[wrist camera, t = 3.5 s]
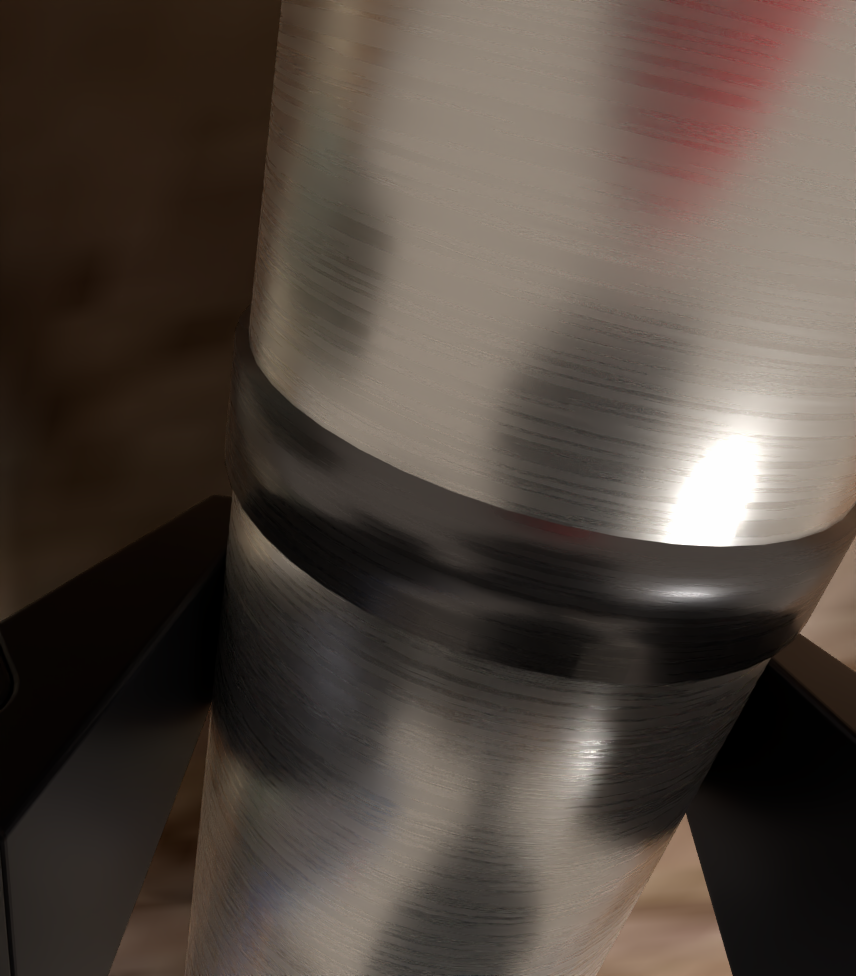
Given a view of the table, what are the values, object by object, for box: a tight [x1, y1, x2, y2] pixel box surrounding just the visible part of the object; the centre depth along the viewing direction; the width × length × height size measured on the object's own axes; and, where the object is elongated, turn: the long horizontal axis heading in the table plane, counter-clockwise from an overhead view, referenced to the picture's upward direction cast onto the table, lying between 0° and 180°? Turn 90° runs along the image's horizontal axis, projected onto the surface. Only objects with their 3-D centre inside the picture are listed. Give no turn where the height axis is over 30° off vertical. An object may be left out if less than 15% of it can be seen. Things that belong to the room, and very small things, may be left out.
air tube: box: [184, 0, 856, 976], centre depth 8 cm, size 18×5×5 cm, turn 168°
